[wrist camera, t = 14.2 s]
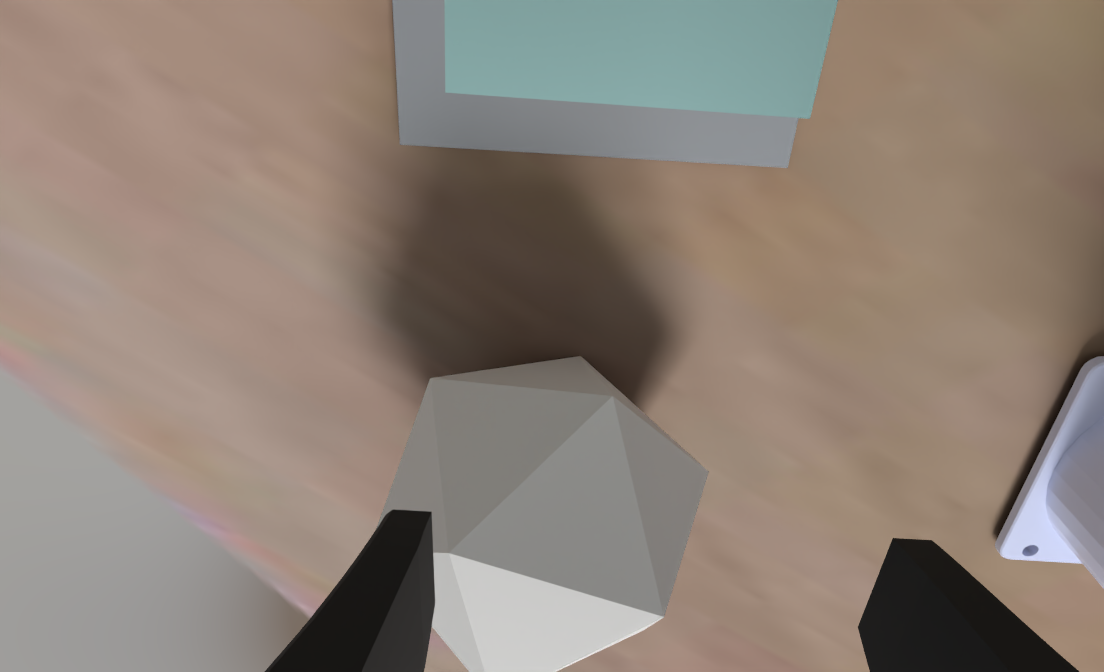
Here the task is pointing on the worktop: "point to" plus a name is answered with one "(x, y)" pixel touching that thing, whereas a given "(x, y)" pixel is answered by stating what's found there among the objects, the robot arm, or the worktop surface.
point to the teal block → (642, 52)
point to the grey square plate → (561, 114)
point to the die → (545, 513)
